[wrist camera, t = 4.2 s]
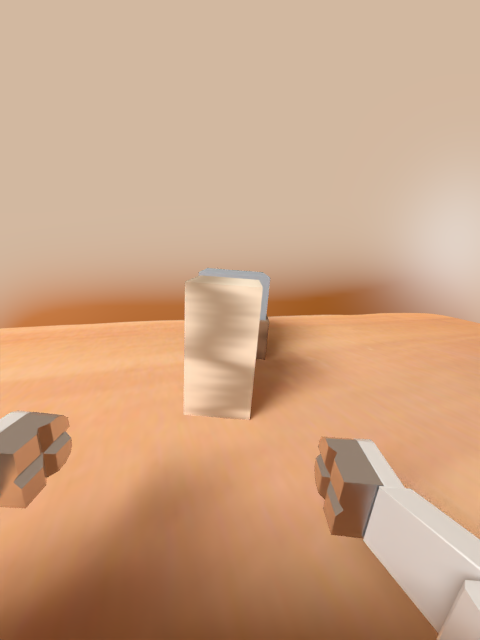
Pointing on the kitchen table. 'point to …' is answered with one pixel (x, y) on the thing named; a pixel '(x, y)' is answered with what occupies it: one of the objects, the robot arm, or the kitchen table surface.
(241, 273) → the slate-blue top block
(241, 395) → the cream pillar block
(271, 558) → the kitchen table surface
